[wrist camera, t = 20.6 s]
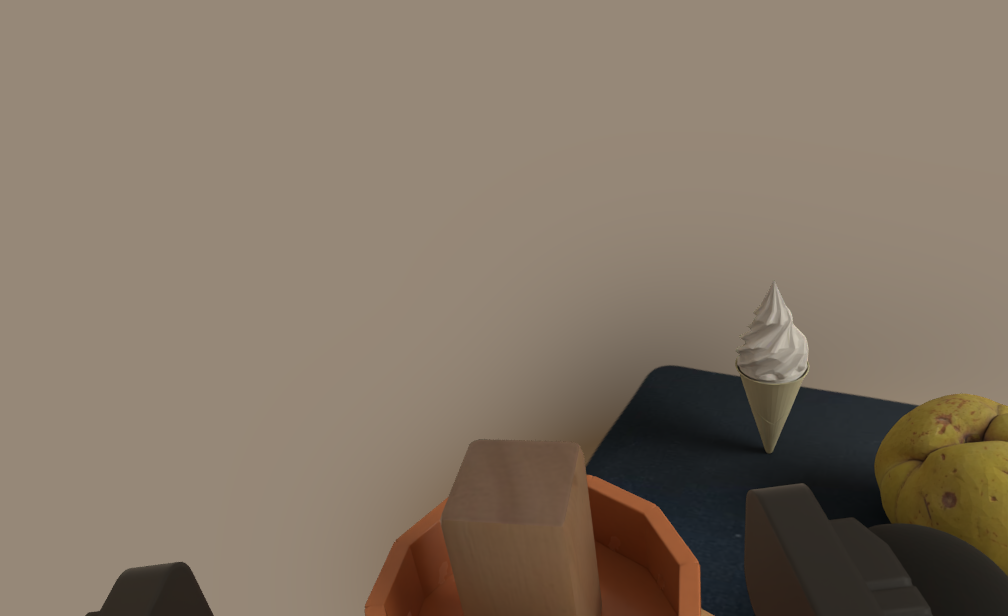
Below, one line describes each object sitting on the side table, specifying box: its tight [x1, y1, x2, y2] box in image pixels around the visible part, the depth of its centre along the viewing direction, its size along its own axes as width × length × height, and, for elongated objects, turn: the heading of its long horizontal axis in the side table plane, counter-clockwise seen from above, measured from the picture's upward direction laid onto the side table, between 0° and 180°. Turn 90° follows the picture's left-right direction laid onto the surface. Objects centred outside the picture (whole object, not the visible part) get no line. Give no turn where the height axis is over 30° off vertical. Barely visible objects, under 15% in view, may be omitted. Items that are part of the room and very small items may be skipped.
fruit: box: [874, 394, 1008, 576], centre depth 43 cm, size 11×12×10 cm
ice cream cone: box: [735, 281, 809, 453], centre depth 52 cm, size 5×5×15 cm
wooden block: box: [440, 439, 602, 616], centre depth 24 cm, size 4×4×8 cm
